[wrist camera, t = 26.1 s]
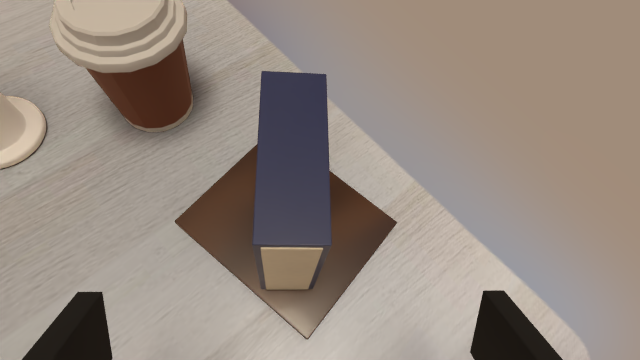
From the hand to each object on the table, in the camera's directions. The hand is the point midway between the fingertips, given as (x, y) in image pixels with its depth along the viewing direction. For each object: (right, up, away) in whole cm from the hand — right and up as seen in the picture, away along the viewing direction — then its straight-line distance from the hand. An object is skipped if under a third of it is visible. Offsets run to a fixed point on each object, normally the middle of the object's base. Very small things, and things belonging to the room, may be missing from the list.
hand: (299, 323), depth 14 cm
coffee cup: (-14, +12, +24) cm, 30 cm away
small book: (-2, +2, +19) cm, 19 cm away
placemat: (-2, +1, +20) cm, 20 cm away
